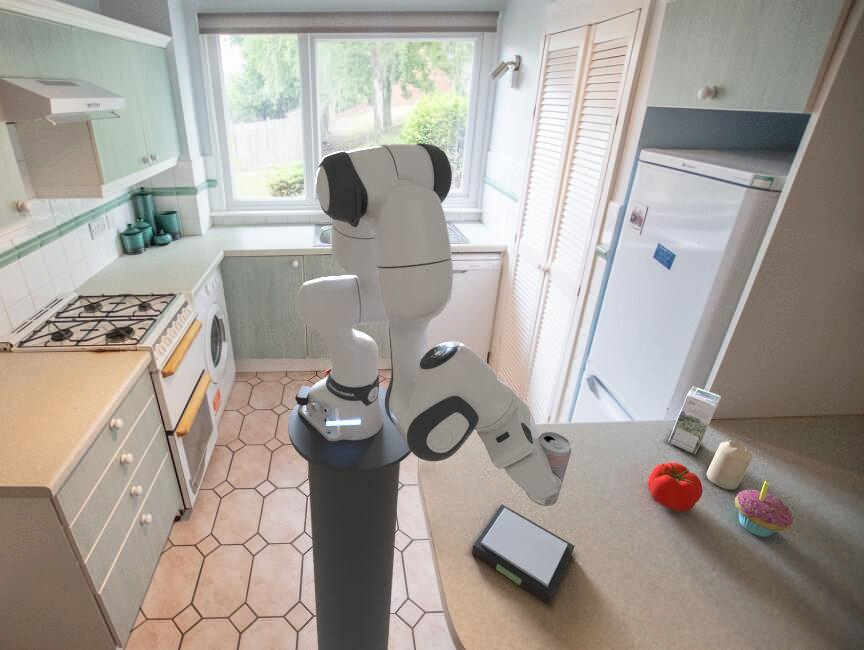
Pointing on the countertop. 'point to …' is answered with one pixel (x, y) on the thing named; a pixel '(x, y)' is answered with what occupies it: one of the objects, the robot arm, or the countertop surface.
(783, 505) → the cupcake
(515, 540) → the scale
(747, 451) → the candle
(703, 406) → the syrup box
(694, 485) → the tomato
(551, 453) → the energy drink
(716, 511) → the countertop surface
